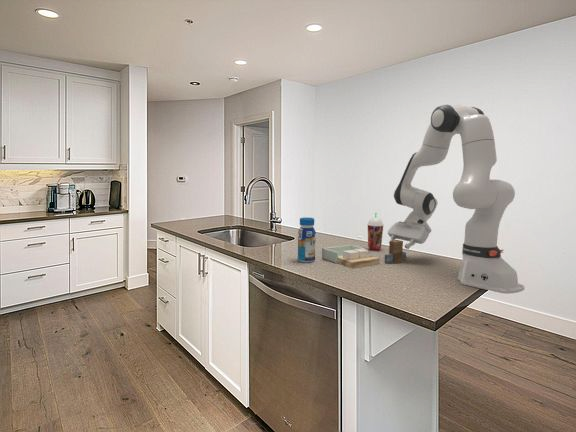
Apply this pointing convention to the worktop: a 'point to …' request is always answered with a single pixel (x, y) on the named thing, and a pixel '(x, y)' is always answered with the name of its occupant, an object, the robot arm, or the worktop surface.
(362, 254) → the tile
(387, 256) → the stacked block structure
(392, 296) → the worktop surface
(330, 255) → the tray
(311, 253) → the beverage bottle
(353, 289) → the worktop surface
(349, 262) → the board
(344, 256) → the tile
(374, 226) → the smoothie
